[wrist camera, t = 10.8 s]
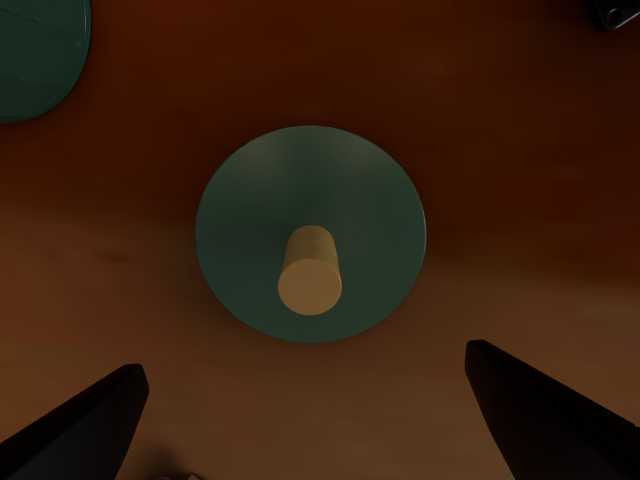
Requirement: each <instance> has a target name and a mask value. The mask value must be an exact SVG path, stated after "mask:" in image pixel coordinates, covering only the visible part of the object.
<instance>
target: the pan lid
mask: <svg viewBox="0 0 640 480" xmlns="http://www.w3.org/2000/svg"><path fill="white" fill-rule="evenodd" d="M425 245H426V223H425V217H424V211H423V208H422V204H421V201H420V198H419V195H418V193H417V191H416V189H415V187H414V185H413V183H412V181H411V180H410V179H409V177H408V176H407V174H406V173H405V171H404V170H403V169H402V167H401V166H400V165H399V164H398V163H397V162H396V161H395V160H394V159H393V158H392V157H391V156H390V155H389V154H387V153H386V152H385V151H384V150H383V149H381V148H380V147H379V146H377V145H375V144H374V143H372V142H370V141H369V140H367V139H365V138H363V137H361V136H358V135H356V134H354V133H351V132H348V131H344V130H341V129H337V128H333V127H325V126H317V125H316V126H295V127H288V128H282V129H279V130H275V131H272V132H269V133H266V134H264V135H262V136H259V137H257V138H255V139H253V140H251V141H249V142H248V143H246V144H245V145H243V146H242V147H240V148H239V149H237V150H236V151H235V152H234V153H233V154H231V155H230V156H229V157H228V158H227V159H226V160H225V161H224V162H223V163H222V164H221V166H220V167H219V168H218V169H217V170H216V171H215V173H214V174H213V176H212V178H211V179H210V181H209V182H208V184H207V186H206V188H205V190H204V192H203V195H202V197H201V199H200V203H199V206H198V210H197V214H196V222H195V246H196V253H197V258H198V261H199V264H200V268H201V271H202V273H203V275H204V277H205V280H206V282H207V284H208V285H209V287H210V289H211V290H212V292H213V293H214V295H215V296H216V297H217V299H218V300H219V301H220V302H221V304H222V305H223V306H224V307H225V308H226V309H227V310H228V311H229V312H230V313H231V314H232V315H234V316H235V317H236V318H238V319H239V320H240V321H242V322H243V323H245V324H246V325H248V326H250V327H251V328H253V329H255V330H257V331H259V332H261V333H263V334H266V335H268V336H271V337H275V338H278V339H281V340H286V341H291V342H300V343H323V342H331V341H336V340H340V339H344V338H348V337H350V336H353V335H356V334H359V333H361V332H363V331H365V330H367V329H369V328H371V327H372V326H374V325H375V324H377V323H379V322H380V321H382V320H383V319H384V318H385V317H387V316H388V315H389V314H390V313H391V312H392V311H393V310H394V309H395V308H396V307H397V306H398V305H399V304H400V303H401V302H402V301H403V299H404V298H405V297H406V295H407V294H408V293H409V291H410V289H411V288H412V286H413V284H414V282H415V280H416V278H417V276H418V273H419V271H420V268H421V265H422V261H423V258H424V254H425Z"/></svg>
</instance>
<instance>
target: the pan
mask: <svg viewBox="0 0 640 480" xmlns="http://www.w3.org/2000/svg"><path fill="white" fill-rule="evenodd" d="M90 35H91V10H90V0H0V125H3V124H11V123H18V122H23V121H27V120H30V119H33V118H36V117H38V116H40V115H42V114H44V113H46V112H48V111H49V110H51V109H52V108H53V107H55V106H56V105H57V104H58V103H60V102H61V101H62V100H63V99H64V97H65V96H66V95H67V94H68V93H69V92H70V91H71V89H72V88H73V86H74V85H75V83H76V82H77V80H78V78H79V76H80V73H81V71H82V69H83V67H84V64H85V60H86V57H87V53H88V49H89V42H90Z"/></svg>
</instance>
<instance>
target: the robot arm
mask: <svg viewBox="0 0 640 480" xmlns="http://www.w3.org/2000/svg"><path fill="white" fill-rule="evenodd" d="M587 1H588V4H589V7H590V11H591V14H592V17H593V20H594V23H595V26H596V28H597V30H598V31H600V32H608V31H611V30H614V29H616V28H618V27H620V26H621V25H623V24H624V23H626V22H627V21H629V20H630V19H632V18H633V17H635V16H636V15H638V14H639V13H640V0H587ZM610 14H611V15H612V21H611V23H610V22H609V21H608V17H609V15H610ZM465 372H466V375H467V377H468V380H469V382H470V385H471V387H472V390H473V392H474V394H475V397H476V399H477V402H478V404H479V407H480V409H481V412H482V414H483V416H484V419H485V421H486V424H487V426H488V428H489V430H490V432H491V434H492V436H493V438H494V440H495V442H496V444H497V446H498V448H499V450H500V452H501V453H502V455H503V457H504V459H505V461H506V463H507V465H508V467H509V469H510V470H511V472H512V474H513V476H514V478H515V480H640V427H636V426H635V425H634V424H633V423H631V422H629V421H628V420H626V419H624V418H622V417H621V416H619V415H617V414H615V413H613V412H612V411H610V410H608V409H606V408H605V407H603V406H601V405H599V404H597V403H596V402H594V401H592V400H590V399H589V398H587V397H585V396H583V395H581V394H580V393H578V392H576V391H574V390H573V389H571V388H569V387H567V386H565V385H564V384H562V383H560V382H558V381H557V380H555V379H553V378H551V377H549V376H548V375H546V374H544V373H542V372H540V371H539V370H537V369H535V368H533V367H532V366H530V365H528V364H526V363H524V362H523V361H521V360H519V359H517V358H516V357H514V356H512V355H510V354H508V353H507V352H505V351H503V350H501V349H500V348H498V347H496V346H494V345H492V344H491V343H489V342H487V341H485V340H470V341H468V342H467V345H466V355H465ZM148 395H149V385H148V382H147V379H146V376H145V372H144V369H143V367H142V365H140V364H126V365H123V366H121V367H120V368H118V369H117V370H115V371H113V372H112V373H110V374H109V375H107V376H106V377H104V378H102V379H101V380H99V381H98V382H96V383H95V384H93V385H91V386H90V387H88V388H87V389H85V390H84V391H82V392H80V393H79V394H77V395H76V396H74V397H73V398H71V399H69V400H68V401H66V402H65V403H63V404H61V405H60V406H58V407H57V408H55V409H54V410H52V411H50V412H49V413H47V414H46V415H44V416H43V417H41V418H39V419H38V420H36V421H35V422H33V423H32V424H30V425H28V426H27V427H25V428H24V429H22V430H21V431H19V432H17V433H16V434H14V435H13V436H11V437H10V438H8V439H6V440H5V441H3V442H2V443H0V480H114V479H115V477H116V475H117V473H118V471H119V469H120V467H121V465H122V463H123V460H124V458H125V456H126V454H127V451H128V449H129V446H130V444H131V441H132V439H133V436H134V433H135V430H136V428H137V425H138V422H139V420H140V417H141V414H142V412H143V409H144V406H145V403H146V401H147V398H148Z"/></svg>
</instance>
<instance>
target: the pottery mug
mask: <svg viewBox="0 0 640 480" xmlns="http://www.w3.org/2000/svg"><path fill="white" fill-rule="evenodd" d="M146 480H169V478H168V477H151V478H147V479H146ZM187 480H199V479H198V478H197V477H196V476H195V475H193V474H192V475H190V476H189V478H188V479H187Z"/></svg>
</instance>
